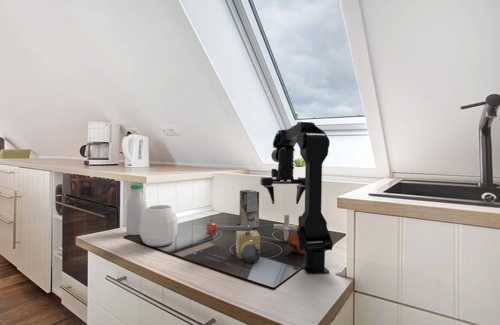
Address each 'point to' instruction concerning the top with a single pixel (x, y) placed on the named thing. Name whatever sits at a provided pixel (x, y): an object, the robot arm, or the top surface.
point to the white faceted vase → (158, 225)
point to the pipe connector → (286, 226)
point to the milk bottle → (135, 209)
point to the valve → (248, 245)
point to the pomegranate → (293, 243)
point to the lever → (226, 228)
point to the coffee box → (249, 208)
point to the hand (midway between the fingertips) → (285, 204)
